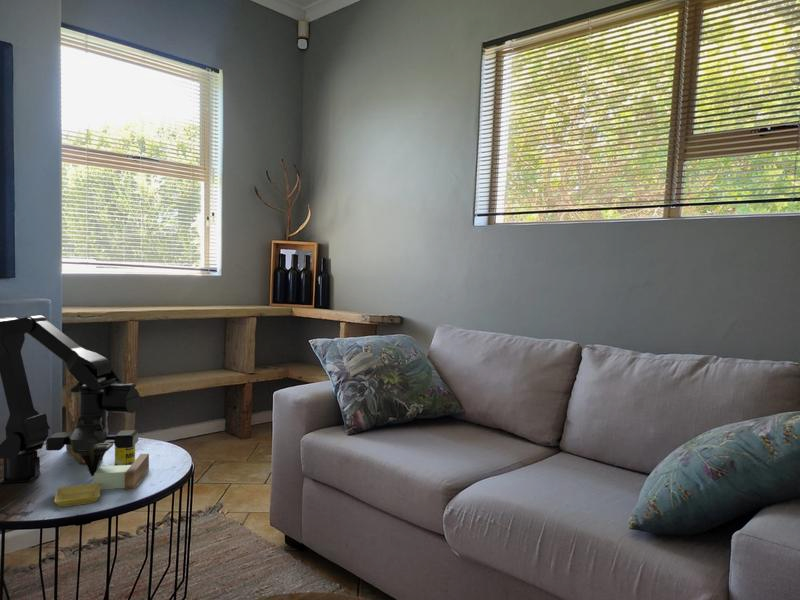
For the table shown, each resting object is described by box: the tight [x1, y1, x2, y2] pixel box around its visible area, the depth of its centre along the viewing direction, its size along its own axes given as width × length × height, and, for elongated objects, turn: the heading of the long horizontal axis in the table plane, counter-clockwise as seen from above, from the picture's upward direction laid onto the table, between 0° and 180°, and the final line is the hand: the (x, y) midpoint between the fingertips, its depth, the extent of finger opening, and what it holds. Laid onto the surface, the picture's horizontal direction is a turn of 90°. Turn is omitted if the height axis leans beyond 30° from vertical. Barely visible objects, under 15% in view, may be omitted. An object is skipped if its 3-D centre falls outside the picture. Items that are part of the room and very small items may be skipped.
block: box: [93, 465, 131, 490], centre depth 135 cm, size 7×5×4 cm
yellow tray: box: [53, 483, 101, 508], centre depth 126 cm, size 9×9×2 cm
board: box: [124, 453, 150, 491], centre depth 138 cm, size 2×14×4 cm, turn 11°
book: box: [65, 363, 104, 466], centre depth 154 cm, size 16×6×25 cm, turn 43°
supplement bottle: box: [114, 444, 136, 466], centre depth 147 cm, size 5×5×8 cm
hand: (93, 475), depth 135 cm, fingers closed
